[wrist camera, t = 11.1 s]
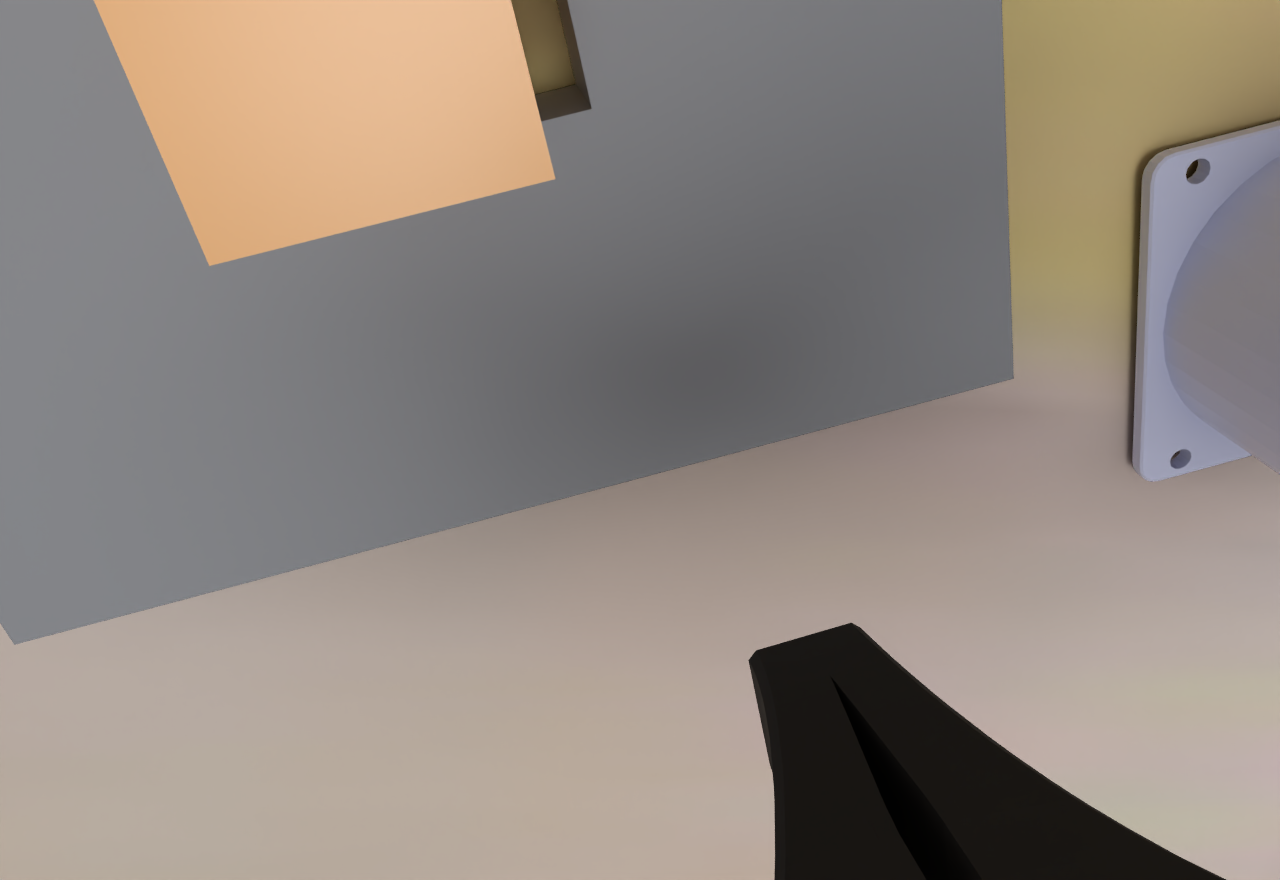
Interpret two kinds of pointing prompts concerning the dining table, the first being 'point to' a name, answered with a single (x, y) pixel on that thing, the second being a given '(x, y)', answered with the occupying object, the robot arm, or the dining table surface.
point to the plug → (328, 110)
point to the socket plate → (486, 296)
